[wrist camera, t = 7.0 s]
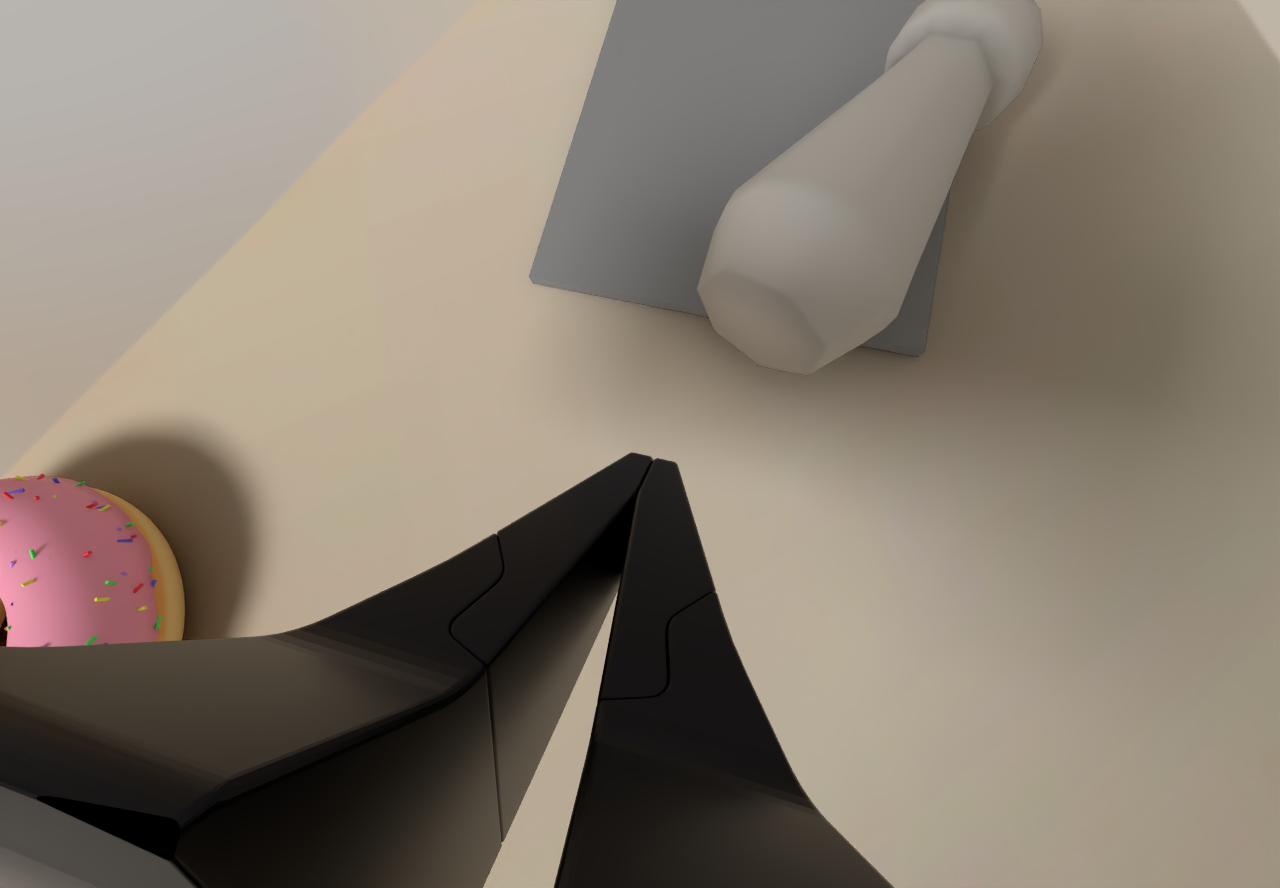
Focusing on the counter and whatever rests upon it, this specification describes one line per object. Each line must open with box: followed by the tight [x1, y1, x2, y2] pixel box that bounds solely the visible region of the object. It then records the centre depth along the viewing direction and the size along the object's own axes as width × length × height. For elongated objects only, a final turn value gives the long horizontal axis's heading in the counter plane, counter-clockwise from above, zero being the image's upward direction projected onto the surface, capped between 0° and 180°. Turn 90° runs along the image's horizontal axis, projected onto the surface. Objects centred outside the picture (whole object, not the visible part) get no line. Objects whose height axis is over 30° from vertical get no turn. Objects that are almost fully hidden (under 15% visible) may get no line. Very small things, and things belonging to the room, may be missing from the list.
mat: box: [529, 0, 950, 357], centre depth 20 cm, size 18×14×1 cm
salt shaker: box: [697, 0, 1043, 375], centre depth 16 cm, size 6×6×13 cm
